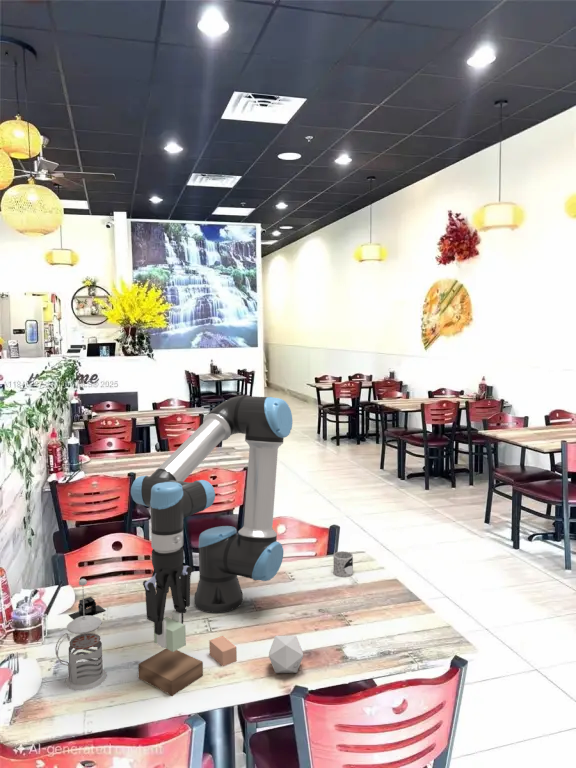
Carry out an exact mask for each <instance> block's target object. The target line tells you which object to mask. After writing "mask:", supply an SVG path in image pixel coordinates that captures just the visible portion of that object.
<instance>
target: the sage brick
mask: <svg viewBox="0 0 576 768" xmlns="http://www.w3.org/2000/svg"><path fill="white" fill-rule="evenodd" d="M164 620H166V636H167V647H166V648H165V649H168V650H170V651H172V652H174V651H176V650H179V649H181V648H183V647H185V646H186V645H187V643H186V642H187V641H186V640H187V639H186V638H187V637H186V636H187V635H186V634H187V633H186V624H184V623H183V624H182V623H180V622H177V621H175V620H173V619H172V617H168V616H164ZM153 643H154V644H156V645H157V634H155V625H154V624H153Z"/></svg>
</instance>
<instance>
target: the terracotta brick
mask: <svg viewBox="0 0 576 768" xmlns="http://www.w3.org/2000/svg"><path fill="white" fill-rule="evenodd" d="M208 641H209V642H208V644H209V645H208V646H209V649H208V650H209V655H210V657H212V658H213V659H214V660H215V661H216V662H218V663H219V665H221V666H222V667H226V666H228V665H230V664H234V663H236V662H237V661H238V660H237V659H238V658H237V656H238V655H237V646H236V645H235V644H234V643H233V642H231V641H230V640H228V639H227V637H225V636H224V635H220V636H217V637H215V638H213V639H210V640H208Z"/></svg>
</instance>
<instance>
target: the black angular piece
mask: <svg viewBox="0 0 576 768" xmlns="http://www.w3.org/2000/svg"><path fill="white" fill-rule="evenodd" d="M78 602H79V603H77V604H78V605H77V606H78V607H77V608H78V611H76V612H72V613H70V614H68V616H69V617H70V618H71V619H72V621H73V620H74V619H76V618H78V617H81V616H97V615H98V614H102V613H104V612H107V610H106V609H105V608H103V607H102V606H100V605H99V604H97V602H96V600H95V598H93V597H92V596H88V597H84V613H83V598H81V599H79V600H78Z"/></svg>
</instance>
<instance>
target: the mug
mask: <svg viewBox="0 0 576 768" xmlns="http://www.w3.org/2000/svg"><path fill="white" fill-rule="evenodd" d="M353 561H354V555H353V553H352V552H348V551H336V552H333V575H334V576H336V577H338V578H349V577H353V575H354V569H353V568H354V566H353V565H354V563H353Z"/></svg>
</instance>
